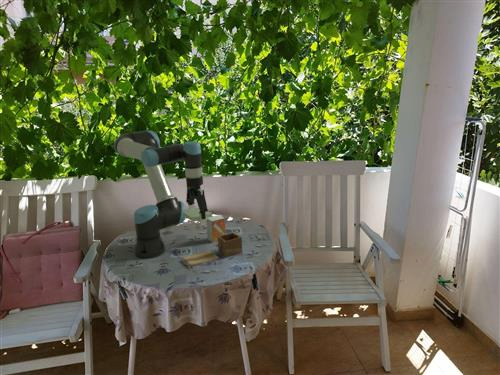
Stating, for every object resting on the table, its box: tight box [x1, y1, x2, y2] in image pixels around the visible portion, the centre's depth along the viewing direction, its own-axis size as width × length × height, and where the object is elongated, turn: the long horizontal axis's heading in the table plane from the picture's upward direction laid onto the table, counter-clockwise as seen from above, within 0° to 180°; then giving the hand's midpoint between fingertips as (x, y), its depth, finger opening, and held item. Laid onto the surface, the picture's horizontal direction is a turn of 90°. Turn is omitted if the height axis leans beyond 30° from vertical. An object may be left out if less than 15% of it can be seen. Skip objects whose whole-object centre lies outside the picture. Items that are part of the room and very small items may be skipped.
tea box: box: [217, 232, 243, 258], centre depth 191 cm, size 8×9×9 cm
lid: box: [182, 207, 213, 223], centre depth 181 cm, size 11×10×3 cm
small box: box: [206, 214, 227, 244], centre depth 207 cm, size 8×6×13 cm
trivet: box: [182, 249, 219, 269], centre depth 187 cm, size 10×14×2 cm
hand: (197, 221), depth 181 cm, fingers closed on lid, 11 cm apart
